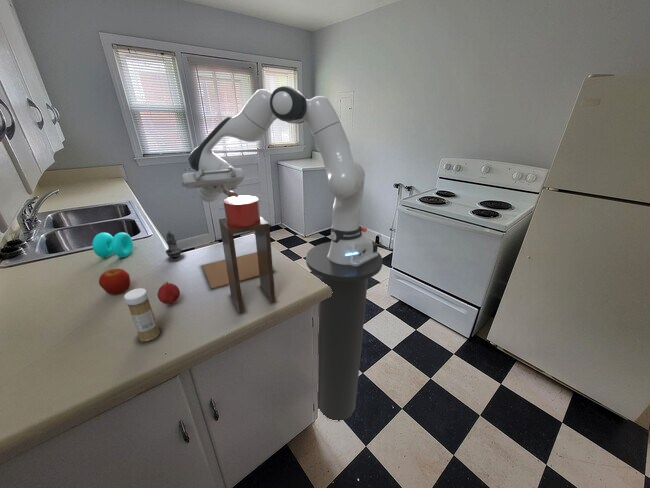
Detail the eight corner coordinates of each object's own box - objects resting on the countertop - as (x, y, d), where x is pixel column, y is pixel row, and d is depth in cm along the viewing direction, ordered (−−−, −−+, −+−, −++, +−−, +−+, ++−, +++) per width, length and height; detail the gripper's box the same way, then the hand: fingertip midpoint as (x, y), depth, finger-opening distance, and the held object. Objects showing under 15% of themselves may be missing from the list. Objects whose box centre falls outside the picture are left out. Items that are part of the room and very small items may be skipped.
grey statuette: (185, 254, 112) (178, 227, 107) (182, 260, 107) (175, 232, 102) (169, 255, 110) (162, 228, 105) (165, 262, 105) (158, 234, 100)
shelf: (263, 286, 91) (257, 213, 81) (275, 301, 84) (269, 223, 73) (231, 295, 86) (218, 219, 75) (239, 313, 78) (227, 230, 68)
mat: (257, 253, 114) (257, 252, 114) (274, 272, 100) (274, 271, 100) (202, 266, 103) (202, 265, 103) (211, 289, 89) (211, 288, 89)
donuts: (112, 250, 114) (104, 228, 110) (137, 250, 114) (130, 228, 110) (95, 262, 105) (86, 238, 101) (122, 261, 105) (114, 238, 101)
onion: (156, 308, 80) (149, 286, 76) (169, 297, 85) (163, 275, 82) (174, 310, 79) (168, 288, 76) (186, 299, 84) (180, 277, 81)
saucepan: (241, 203, 90) (239, 184, 87) (265, 223, 73) (263, 200, 70) (213, 207, 85) (210, 187, 83) (231, 229, 68) (227, 205, 66)
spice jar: (160, 327, 73) (146, 285, 67) (159, 338, 69) (145, 295, 63) (140, 333, 71) (124, 290, 65) (138, 345, 67) (122, 300, 61)
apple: (110, 301, 83) (102, 279, 79) (99, 293, 86) (90, 272, 83) (137, 289, 89) (130, 268, 85) (126, 282, 92) (119, 262, 89)
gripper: (179, 177, 96) (179, 163, 84) (236, 172, 106) (244, 159, 94) (183, 195, 96) (185, 183, 84) (240, 188, 106) (249, 176, 94)
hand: (217, 170), depth 89 cm, fingers open, 8 cm apart
